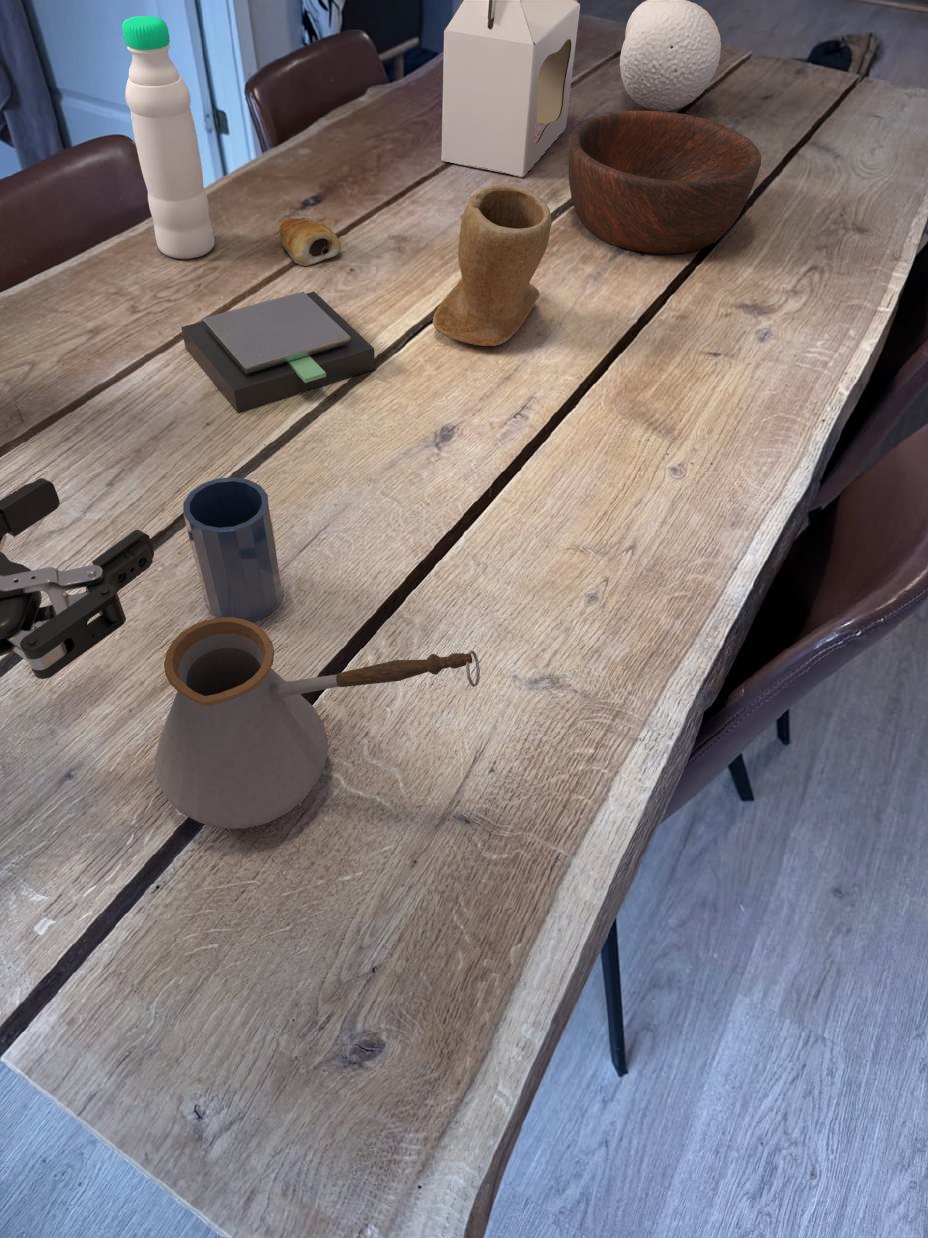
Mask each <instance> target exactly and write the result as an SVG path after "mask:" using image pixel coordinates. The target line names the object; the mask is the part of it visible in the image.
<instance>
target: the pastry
mask: <svg viewBox="0 0 928 1238" xmlns="http://www.w3.org/2000/svg"><path fill="white" fill-rule="evenodd" d="M278 232H279V239H280V240H281V244H282V245H281V246H283V250H284V251H286V252H287V254H288V256H289V257H290V258H291V259H292V260H293V262H294V263H295V264H297V265H300V266H303V267H309V266H312V265H316V264H318V263H321V262H322V261H324V260H329V259H332V258H334V257H336V256H337V255H338V254H339V253H340V251H341V247H342V243H341V241H340V240H339V238H338V235H336V233H335V231H333V230H332V229H331V228H330V227H329V226H327V225H326V223H324V222H322V221H316V220H313V219H311V218H305V217H300V218H293V217H292V218H291V217H290V218H287V219H286V220H284V221H282V223H281V224H280V226H279V228H278Z"/></svg>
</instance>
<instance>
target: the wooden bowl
mask: <svg viewBox="0 0 928 1238" xmlns="http://www.w3.org/2000/svg"><path fill="white" fill-rule="evenodd" d="M567 153H568V155H567V157H568V159H567V161H568V163H567V165H568V183H569V192H570V197H571V201H572V204H573V208H574V210H575V213H576V215H577V217H578V219H579V221H580V222H581V224H582V225H583V226H584V227H585V229H586V230H588V231H589V232H590V233H591V234H593V235H594V236H595V237H596V238H599V239H600V240H602V241H604V242H606V243H608V244H611V245H613V246H616V247H619V248H623V249H626V250H629V251H634V252H641V253H648V254H657V255H658V254H660V255H661V254H662V255H675V254H685V253H691V252H696V251H699V250H702V249H705V248H708V247H709V246H711V245H712V244H715V243H716V242H717V241H719V240H720V239H721V238H722V237H723V236H724V235H725V234H727V232H728V231H729V230H730V228H731V227H732V226H733V225H734V224H735V222H736V221H737V219H738V218H739V216H740V214H741V213H742V211H743V209H744V207H745V205H746V203H747V201H748V199H749V197H750V194H751V192H752V190H753V187H754V185H755V183H756V180H757V177H758V175H759V172H760V169H761V166H762V154H761V151H760V150H759V148H758V147H757V145H756V144H755V143H754V142H753V141H752V140H751V139H750V138H749V137H747V136H746V135H744V134H743V133H741V132H739V131H737V130H736V129H734V128H731V127H729V126H727V125H724V124H723V123H719V122H716V121H713V120H710V119H707V118H702V117H699V116H694V115H689V114H686V113H685V114H684V113H679V112H672V111H662V112H661V111H654V110H626V111H616V112H610V113H605V114H602V115H597V116H594V117H592V118H589V119H587V120H585V121H583V122H582V123H580V124H579V125H578V126H576V127H575V128H574V129H573V130H572V132H571V134H570V136H569V140H568V151H567Z"/></svg>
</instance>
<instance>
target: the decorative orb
mask: <svg viewBox="0 0 928 1238" xmlns="http://www.w3.org/2000/svg"><path fill="white" fill-rule="evenodd" d="M718 28H719V27H718V26H717V25H716V22H715V20H714V19H713V17H712V15H710V13H709V12H708V11H707V10H706V9H704V8H703V7H702V6H701V5H699V4H697V3H695V2H692V1H690V0H644V1H643V2H641V3H640V4H639V5H637V6H636V8H635V9H634V10H633V12H632V13H631V15H630V17H629V18H628V21H627V23H626V27H625V32H624V33H625V34H624V36H625V37H624V41H623V43H622V47H621V49H620V55H619V69H620V77H621V81H622V85H623V87H624V89H625V91H626V93H627V95H629V97H630V98H631V99H632V101H634V102H635V103H636V104H637V105H639V106H640V107H642V108H645V109H646V111H661V112H673V111H675V110H679V109H681V108H684V107H686V106H688V105H690V104H691V103H693V101H695V100H696V99H697V98H699V97H700V96H701V95H702V94H703V93H704V92H705V90H706V89H707V88H708V86H709V85H710V83H711V81H712V80H713V78H714V76H715V74H716V72H717V69H718V67H719V62H720V60H721V50H722V41H721V34H720V32H719V29H718Z"/></svg>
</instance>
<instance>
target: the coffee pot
mask: <svg viewBox="0 0 928 1238" xmlns="http://www.w3.org/2000/svg"><path fill="white" fill-rule="evenodd" d="M164 657H165V658H164V662H163V668H164V675H165V677H166V679H167V681H168V682H169V684H170V685H171V687H173V688H174V689H175V690H176V694H175V697H174V698H173V702H172V705H171V707H170V710H169V712H168V715H167V718H166V720H165V723H164V726H163V728H162V731H161V734H160V737H159V739H158V744H157V749H156V753H155V756H154V765H155V774H156V780H157V783H158V785H159V787H160V789H161V791H162V793H163V796H164V797H165V798H166V799H167V801H168V802H169V803H171V804H172V806H173V807H175V809H176V810H177V811H178V812H179V813H181V814H182V815H185V816H186V817H188V818H190V819H192V820H193V821H196V822H198V823H199V824H202V825H206V826H211V827H214V828H219V829H224V830H229V829H230V830H231V829H234V830H235V829H236V830H237V829H249V828H253V827H258V826H260V825H264V824H265V825H266V824H268V823H270V822H272V821H274V820H276V819H278V818H280V817H282V816H285V815H287V814H288V813H289V812H291V811H292V810H293V809H294V808H296V807H297V806H298V805H299V804H300V803H302V802H303V801H304V800H305V799H306V798H307V796H308V795H309V793H311V791H312V789H314V786H316V784H317V783H318V781H319V780H320V778H321V775H322V772H323V770H324V767H325V765H326V762H327V759H328V745H329V744H328V743H329V739H328V735H327V731H326V727H325V724H324V721H323V720H322V718H321V716H320V715H319V713H318V712H317V710H316V709H315V707H314V705H313V704H312V703H310V702H309V701H308V700H307V699H306V698H305V697H303V694H307V693H312V692H318V691H323V690H328V689H334V688H347V687H358V686H365V685H366V686H367V685H376V684H385V683H394V682H402V681H405V680H406V679H410V678H414V677H416V676H420V675H424V674H426V673H429V674H431V675H433V676H435V675H436V676H437V675H438V674H440V672H442V670H445V669H449V668H450V669H455V670H457V669H460V668H462V667H465V671H466V678H467V681H468V682H469V685H470V686H471V687H473V688H474V687H477V686H478V685H479V682H480V678H481V675H480V673H481V672H480V671H481V670H480V668H481V667H480V662H479V659H478V655H477V653H476V652H475V650H473V649H472V650H469V651H468V652H467V653H463V652H454V653H450V654H449V655H448V656H439V655H437V654H436V653H431V654H430V655H428V657H427V658H424V659H423V658H422V659H421V658H420V659H394V660H389V661H385V662H381V663H380V662H379V663H376V664H371V665H368V666H363V667H359V668H355V669H350V670H346V671H342V672H338V673H337V674H331V675H323V676H316V677H310V678H309V677H308V678H303V679H295V680H289V681H288V680H287V681H286V680H285V679H284V678H283V677H282V676H281V675H280V674H278V673H277V672H276V671H275V670H274V669H273V668H272V667H273V664H274V659H275V649H274V644H273V641H272V640H271V638H270V636H269V635H268V634H267V632H266V631H265V630H264V629H263V628H261V626H259V625H257V624H256V623H255V622H249V621H247V620H244V619H239V618H234V617H219V618H217V617H215V618H209V619H204V620H202V621H200V622H197V623H195V624H192V625H191V626H189V627H188V628H186V629H185V630H183V631H181V633H179V634H178V636H176V637H175V638H174V639H173V640H172V641H171V644H170V645H169V647H168V649H167V650H166V653H165V656H164ZM473 659H474V663H475V669H476V670H475V671H476V672H475V673H476V678H475V682H474V681H473V679H472V677H471V670H470V669H471V668H470V665H471V664H472V663H473Z"/></svg>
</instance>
